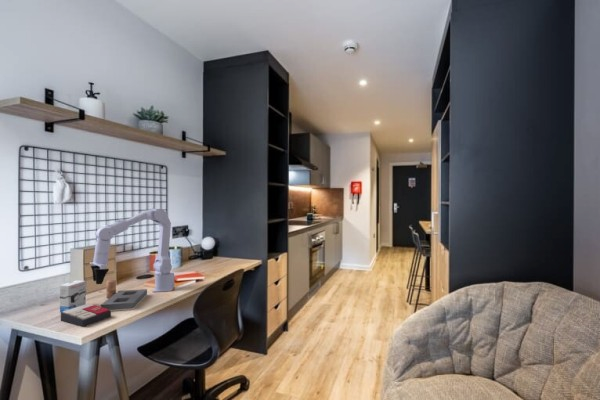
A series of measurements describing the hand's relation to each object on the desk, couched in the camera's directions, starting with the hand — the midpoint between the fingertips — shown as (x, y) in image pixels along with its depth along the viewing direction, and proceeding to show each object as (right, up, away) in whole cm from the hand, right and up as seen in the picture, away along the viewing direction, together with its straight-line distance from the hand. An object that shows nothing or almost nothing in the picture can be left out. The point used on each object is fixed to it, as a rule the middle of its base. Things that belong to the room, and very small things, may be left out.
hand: (97, 282), depth 138 cm
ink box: (-7, -11, -6) cm, 14 cm away
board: (+12, -10, +2) cm, 16 cm away
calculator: (+7, -11, -16) cm, 21 cm away
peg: (0, -10, +10) cm, 14 cm away
